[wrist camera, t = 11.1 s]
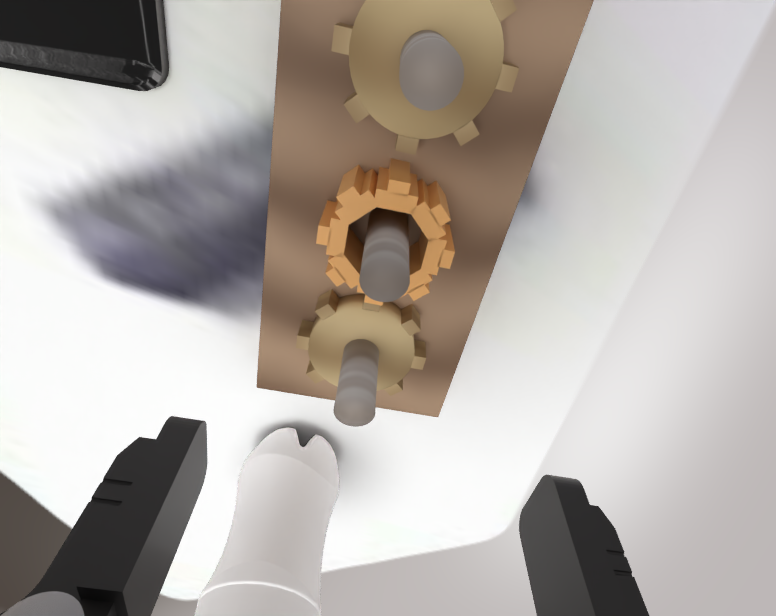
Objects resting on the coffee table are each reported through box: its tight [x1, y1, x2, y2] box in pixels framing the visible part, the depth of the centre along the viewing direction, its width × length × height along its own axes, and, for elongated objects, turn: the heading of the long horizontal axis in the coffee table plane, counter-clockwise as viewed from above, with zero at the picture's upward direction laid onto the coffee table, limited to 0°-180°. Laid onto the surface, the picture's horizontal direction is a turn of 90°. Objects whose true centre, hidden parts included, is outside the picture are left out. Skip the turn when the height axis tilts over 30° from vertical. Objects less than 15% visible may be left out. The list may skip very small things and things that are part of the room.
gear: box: [316, 158, 455, 306], centre depth 22 cm, size 6×6×3 cm
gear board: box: [257, 0, 594, 426], centre depth 22 cm, size 26×12×8 cm, turn 169°
